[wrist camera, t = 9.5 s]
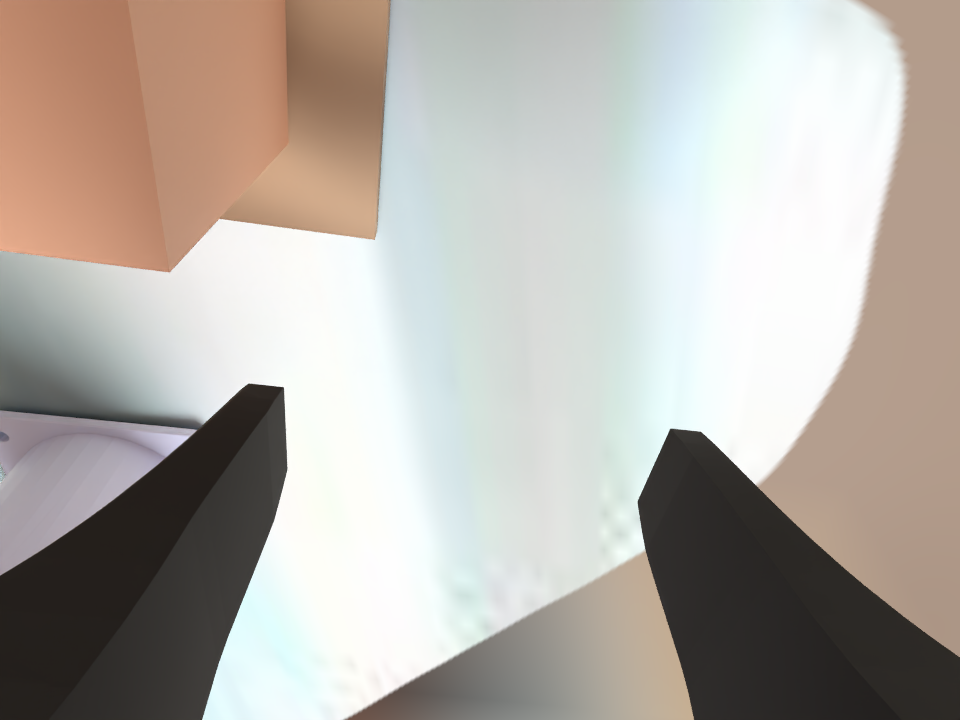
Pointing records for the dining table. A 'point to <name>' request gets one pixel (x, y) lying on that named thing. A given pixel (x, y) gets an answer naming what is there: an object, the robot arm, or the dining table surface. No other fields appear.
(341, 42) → the walnut pad
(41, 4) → the terracotta block
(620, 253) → the dining table surface
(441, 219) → the dining table surface
